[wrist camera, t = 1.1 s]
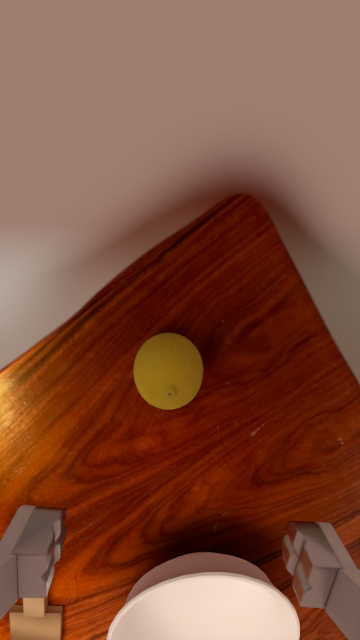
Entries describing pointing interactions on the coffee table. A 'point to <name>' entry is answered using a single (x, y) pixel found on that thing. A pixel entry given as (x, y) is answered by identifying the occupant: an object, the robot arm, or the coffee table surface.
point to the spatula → (36, 620)
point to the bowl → (205, 603)
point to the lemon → (168, 371)
